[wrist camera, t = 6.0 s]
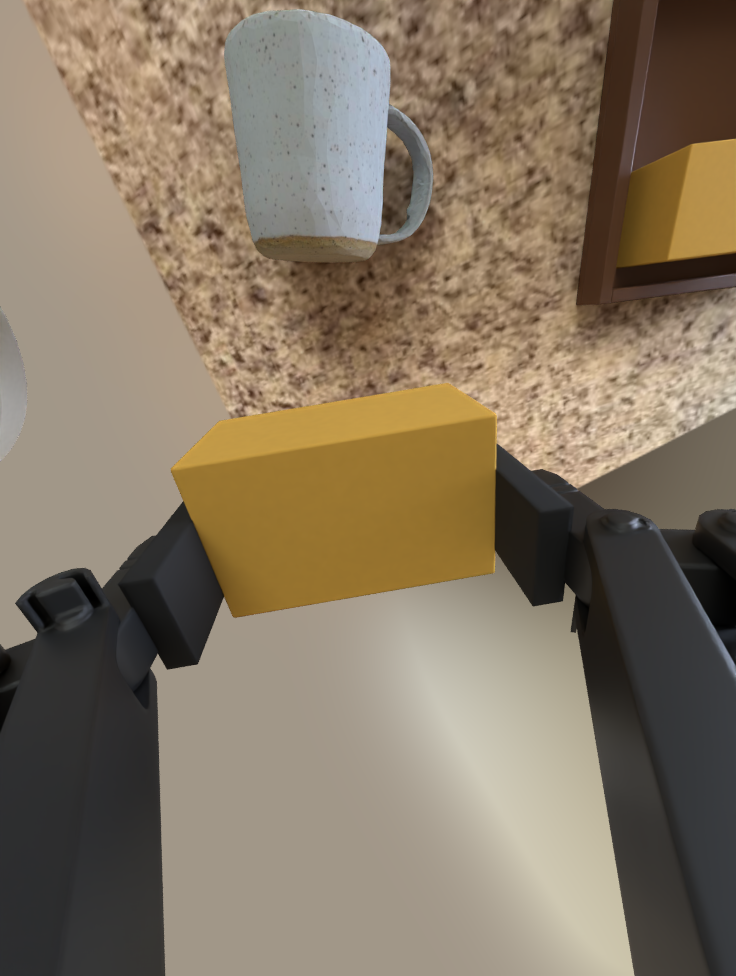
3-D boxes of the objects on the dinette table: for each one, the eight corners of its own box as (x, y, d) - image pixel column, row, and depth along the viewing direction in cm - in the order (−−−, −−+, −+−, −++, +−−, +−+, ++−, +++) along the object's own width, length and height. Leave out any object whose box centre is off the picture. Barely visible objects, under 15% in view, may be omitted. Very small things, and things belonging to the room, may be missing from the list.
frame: (575, 305, 27) (599, 304, 24) (615, -19, 20) (653, -63, 17) (743, 283, 27) (782, 280, 24) (840, -43, 20) (908, -90, 18)
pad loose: (258, 540, 15) (232, 619, 11) (217, 420, 13) (167, 469, 9) (454, 506, 16) (496, 574, 12) (448, 382, 13) (498, 413, 9)
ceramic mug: (262, 267, 24) (236, 250, 17) (242, 95, 20) (200, -15, 13) (422, 267, 25) (459, 251, 18) (430, 103, 21) (480, 4, 14)
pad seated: (614, 268, 25) (666, 261, 21) (630, 172, 23) (691, 143, 19) (733, 253, 25) (806, 243, 21) (759, 156, 23) (847, 124, 19)
